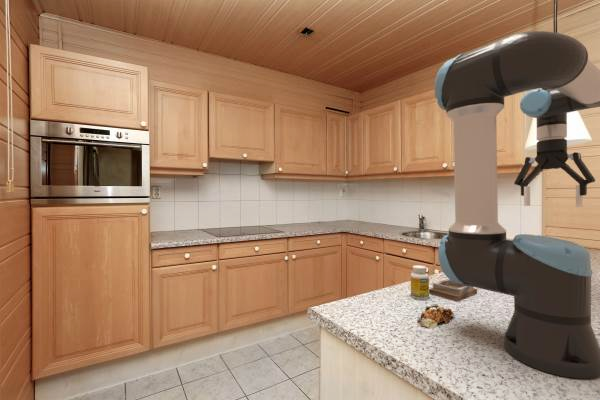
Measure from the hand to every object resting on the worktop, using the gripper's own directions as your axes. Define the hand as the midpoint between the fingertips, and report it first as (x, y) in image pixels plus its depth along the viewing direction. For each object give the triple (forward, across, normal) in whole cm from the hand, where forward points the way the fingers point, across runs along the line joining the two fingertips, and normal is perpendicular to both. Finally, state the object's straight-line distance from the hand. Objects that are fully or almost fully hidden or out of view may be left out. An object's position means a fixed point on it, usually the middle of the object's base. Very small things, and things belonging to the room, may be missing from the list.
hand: (551, 206), depth 98 cm
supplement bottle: (+28, +20, +39) cm, 52 cm away
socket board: (+28, +16, +28) cm, 42 cm away
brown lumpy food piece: (+28, +7, +50) cm, 58 cm away
